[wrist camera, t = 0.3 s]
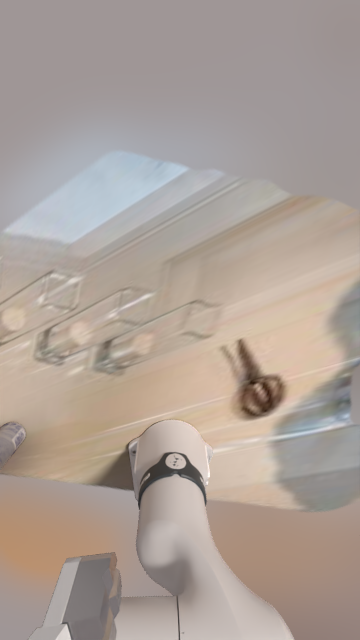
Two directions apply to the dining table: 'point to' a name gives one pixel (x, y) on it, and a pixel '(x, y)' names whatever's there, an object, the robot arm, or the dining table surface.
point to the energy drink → (10, 440)
